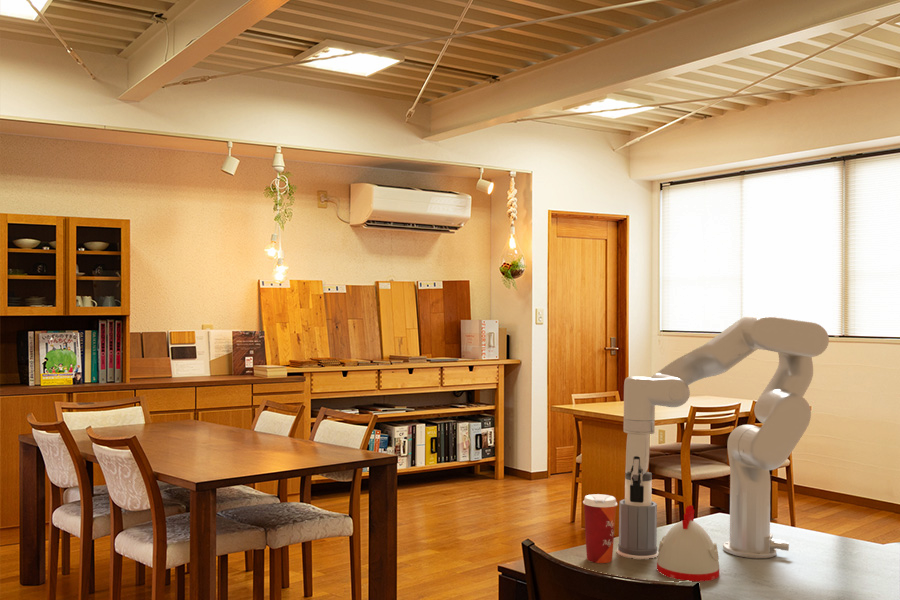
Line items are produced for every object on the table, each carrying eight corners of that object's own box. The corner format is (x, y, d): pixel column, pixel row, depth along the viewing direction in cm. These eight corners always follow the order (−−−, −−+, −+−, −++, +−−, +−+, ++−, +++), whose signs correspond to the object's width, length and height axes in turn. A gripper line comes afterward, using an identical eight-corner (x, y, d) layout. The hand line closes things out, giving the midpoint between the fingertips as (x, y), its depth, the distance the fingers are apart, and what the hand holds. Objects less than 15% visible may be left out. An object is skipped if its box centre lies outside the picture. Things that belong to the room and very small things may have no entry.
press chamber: (662, 551, 208) (663, 501, 209) (652, 561, 200) (652, 509, 200) (623, 545, 213) (624, 496, 213) (611, 555, 204) (612, 504, 204)
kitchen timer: (724, 568, 195) (725, 504, 195) (712, 585, 183) (713, 517, 183) (665, 559, 202) (666, 497, 202) (649, 575, 190) (650, 509, 190)
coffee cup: (616, 566, 196) (617, 502, 196) (581, 563, 198) (582, 500, 198) (616, 555, 204) (617, 494, 204) (582, 553, 206) (583, 492, 206)
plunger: (653, 542, 208) (654, 472, 208) (647, 548, 202) (647, 476, 202) (628, 538, 211) (629, 469, 211) (621, 544, 205) (622, 473, 205)
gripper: (627, 421, 216) (626, 490, 216) (619, 430, 200) (618, 505, 199) (657, 422, 214) (656, 492, 214) (651, 432, 197) (650, 508, 197)
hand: (638, 498), depth 206 cm, fingers closed on plunger, 6 cm apart
